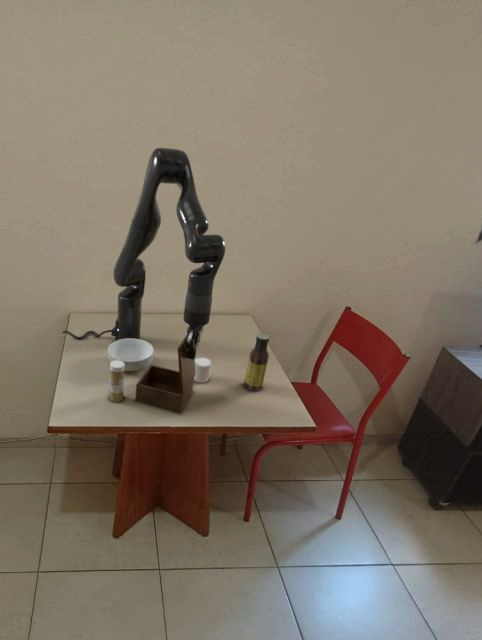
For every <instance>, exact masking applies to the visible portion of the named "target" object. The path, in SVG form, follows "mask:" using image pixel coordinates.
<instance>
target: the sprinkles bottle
mask: <svg viewBox="0 0 482 640" xmlns="http://www.w3.org/2000/svg"><path fill="white" fill-rule="evenodd" d="M109 369H110V380H109V381H110V382H109V387H110V388H109V390H110V391H109V399H110V400H111V401H112V402H116V403H117V402H121V401H123V400H124V390H125V389H124V386H125V370H124V369H125V364H124V363H123V362H122V361H113V362H110V364H109Z"/></svg>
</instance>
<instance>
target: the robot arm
mask: <svg viewBox="0 0 482 640" xmlns="http://www.w3.org/2000/svg"><path fill="white" fill-rule="evenodd" d="M143 179H144V180H143V184H142V189H141V192H140V196H139V199H138V202H137V205H136V208H135V211H134V213H133V216H132V220H131V222H130V225H129V229H128V233H127V236H126V238H125V241H124V244H123V245H122V246H123V247H122V249H121V251H120V253H119V255H118V257H117V260H116V262H115V264H114V267H113V273H112V274H113V280H114V283H115V284H116V285H117V286H118V287H121V288H123V290H121V291H120V292H118V295H117V318H116V319H115V323H114V324H115V325H114V327H113V328H111V329H107V330H104V331H102V332H101V333H99V334H97V333H96V331H94V330H88V331H87V332H86V333H85V334H84V335H82V336H76V335H74V334H73V333H72V332H71V331H70V330H64V331H62V334H65V333H67V334H69V335H70V336H71V337H72V338H74V339H77V340H82V339H84V338H86V337H87V335H88V334H93V335H94V336H95V337H97V338H100V337H101V336H102V335H104V334H106V333H111V334H110V335H111V336H112V337H114V342H115V341H117V340H120V339H127V338H134V339H140V340H141V329H142V328H141V325H142V307H143V306H142V305H143V304H142V303H143V297H144V295H145V289H146V288H145V287H146V278H147V277H146V276H147V272H146V271H147V270H146V266H145V264H144V262H143V260H141V259H140V258H139V257H140V256H141V255H142V254H143V253H144V252H145V251H146V250H147V249H148V248H149V247H150V246H151V244H152V243H153V242H154V240H155V239H156V237H157V234H158V232H159V230H160V226H161V224H162V214H161V211H160V206H159V204H158V201H157V200H158V199H157V192H158V189H159V187H160V185H161V184H166V185H167V184H169V185H177V187H178V188H179V191H180V194H179V197H178V199H177V203H176V207H175V208H176V211H175V212H176V216H177V220H178V222H179V224H180V227H181V229H182V232H183V239H184V253H185V257H186V259H187V260H188V261H189V262H190V263H193V264H202V265H201V266H198V267H197V268H194V269H192V270H190V272H189V274H188V281H187V289H186V290H187V291H186V295H185V299H184V300H185V301H184V309H183V321H184V323H185V324H187V325H188V327H187V328H186V335H187V338H185V337H184V338H185V345H186V349H188V359H193V360H194V359H195V358H197V350H198V346H199V343H200V342H201V338H202V334H203V331H204V327H205V326H206V325H208V324H209V322H210V318H211V310H212V306H213V305H212V304H213V292H214V284H215V278H216V276H217V274H218V271H219V269H220V267H221V265H222V262H223V261H224V257H225V254H226V241H225V239H224V237H222V236H221V235H220V234H215V233H213V234H206V233H207V232H208V230H209V226H210V225H209V221H208V218H207V215H206V214H205V211H204V208H203V207H202V205H201V202H200V200H199V196H198V192H197V188H196V183H195V178H194V175H193V170H192V166H191V162H190V159H189V157H188V155H187V153H186V151H184V150H182V149H177V148H169V147H156V148H155V149H154V150H153V151H152V153H150V157H149V159H148V162H147V167H146V169H145V175H144V178H143Z"/></svg>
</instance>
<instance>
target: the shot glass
mask: <svg viewBox="0 0 482 640" xmlns="http://www.w3.org/2000/svg"><path fill="white" fill-rule="evenodd" d="M213 364H214V363H213V360H212V359H210V358H208V357H204V356H196V357H195V371H196V374H195V376H194V381H195V382H196V383H201V384H202V383H203V384H204V383H207V382H208V381H209V379H210V375H211V371H212V368H213Z"/></svg>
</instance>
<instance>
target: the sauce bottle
mask: <svg viewBox="0 0 482 640" xmlns="http://www.w3.org/2000/svg"><path fill="white" fill-rule="evenodd" d="M269 342H270V336H269V335H268V334H266V333H258V334H256V337H255V345H254V348H252V350H251V351H250V353H249V357H248V360H247V361H248V362H247V367H246V371H245V378H244V386H245V388H246V389H247V390H250V391H253V392H256V391H257V392H258V391H260V390H261V389H262V388H263V385H264V381H265V377H266V373H267V368H268V363H269V359H270V355H269V352H268V343H269Z"/></svg>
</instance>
